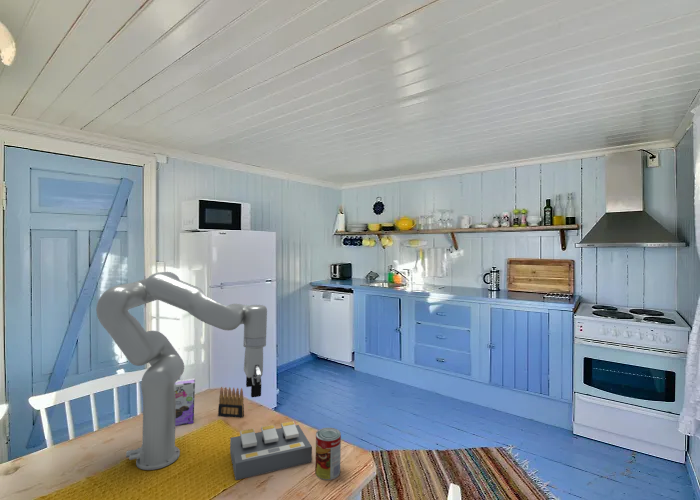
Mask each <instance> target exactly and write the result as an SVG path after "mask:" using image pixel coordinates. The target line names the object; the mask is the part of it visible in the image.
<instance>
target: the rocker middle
mask: <svg viewBox="0 0 700 500" xmlns="http://www.w3.org/2000/svg"><path fill="white" fill-rule="evenodd" d="M276 429H277V428H276V427H275V424H271V425H270V424H269V425H266V426H261V427H260V430H261V431H260V432H262V435H263V438H264V442H265V444H266V443H271V442H276V441H278V435H277V432H276Z"/></svg>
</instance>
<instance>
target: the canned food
mask: <svg viewBox="0 0 700 500" xmlns="http://www.w3.org/2000/svg"><path fill="white" fill-rule="evenodd" d="M341 443H342V434H341V431H340V430H338V429H337V428H335V427H323V428H320V429H318V430H317V431H316V433H315V463H314V465H315V466H314V469H315V471H314V472H315V473H314V474H315V476H316V477H317V478H318V479H320V480H325V481H330V480H331V481H332V480H335V479H337V478H338V477H339V476H340V474H341V453H342V452H341V450H342V449H341V447H342V445H341Z"/></svg>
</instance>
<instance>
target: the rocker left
mask: <svg viewBox="0 0 700 500" xmlns="http://www.w3.org/2000/svg"><path fill="white" fill-rule="evenodd" d="M255 433H256V432H255V428H249V429H244V430H240V431H239V436H241V441H242V446H243V448H246V447H251V446H256V445H257V440H256V436H255Z"/></svg>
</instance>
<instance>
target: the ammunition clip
mask: <svg viewBox="0 0 700 500" xmlns="http://www.w3.org/2000/svg"><path fill="white" fill-rule="evenodd" d="M218 400H219V401H218V402H219V403H218V409H217V410H218V411H217V412H218V413H217V417H224V418H238V419H242V418H244V416H245V405H244V390H243V388H242V387H241V388H240V390H239V387H237V388H236V390H235V387H233V388H232V389H231V387H230V386H229V387H228V389H227V387H226V386H225V387H224V388H223V386H221V387H220V390H219V399H218Z"/></svg>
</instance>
